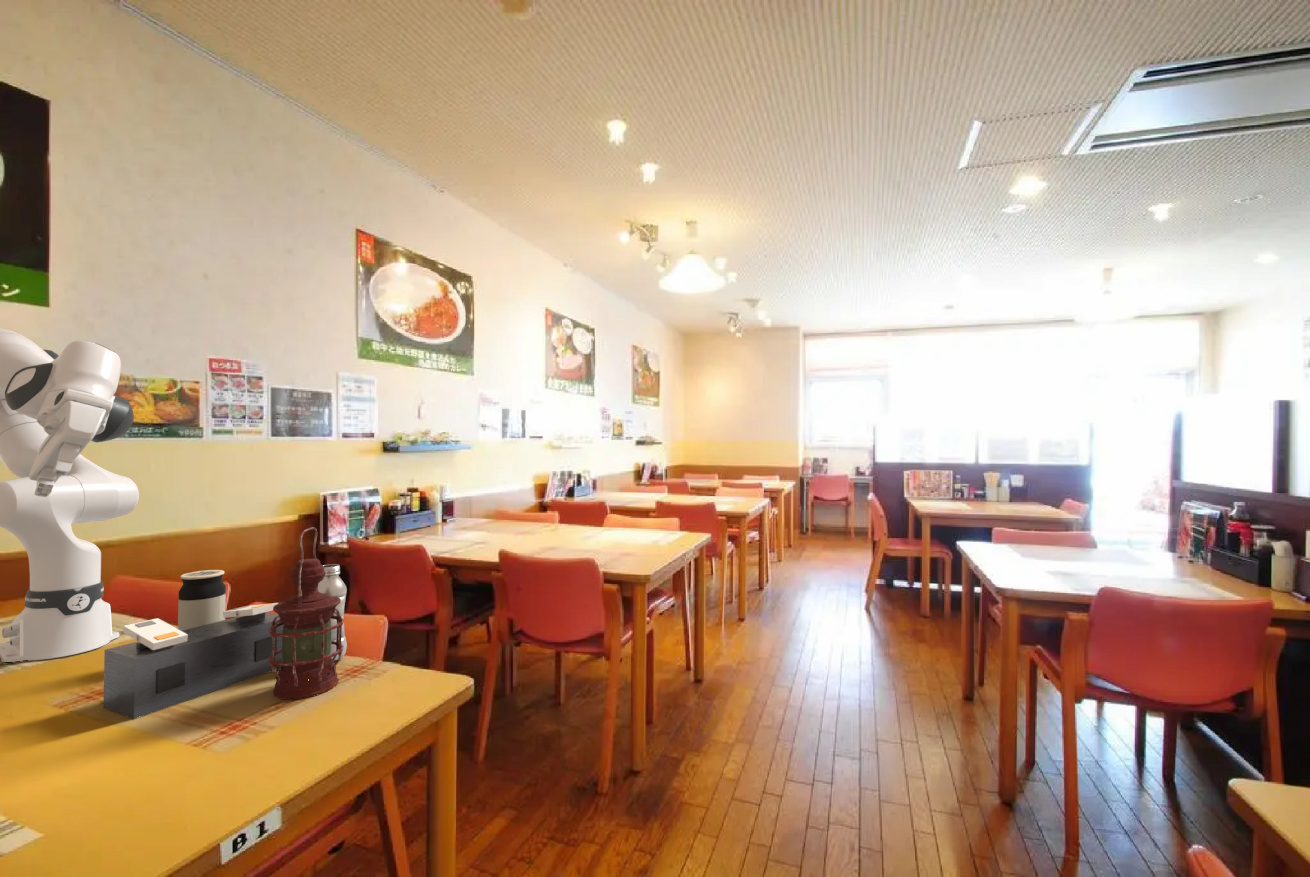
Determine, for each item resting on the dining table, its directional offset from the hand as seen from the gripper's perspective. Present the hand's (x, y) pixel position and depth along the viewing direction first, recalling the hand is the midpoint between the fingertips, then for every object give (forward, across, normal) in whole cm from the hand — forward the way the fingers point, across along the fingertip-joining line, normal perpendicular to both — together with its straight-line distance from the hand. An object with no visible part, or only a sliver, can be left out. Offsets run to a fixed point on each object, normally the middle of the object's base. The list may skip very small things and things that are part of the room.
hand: (51, 484), depth 97 cm
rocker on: (+24, -2, +19) cm, 31 cm away
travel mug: (+23, -24, +34) cm, 47 cm away
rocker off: (+19, -3, +34) cm, 39 cm away
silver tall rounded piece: (+30, 0, +49) cm, 57 cm away
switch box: (+32, -8, +30) cm, 44 cm away
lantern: (+37, +8, +40) cm, 55 cm away
